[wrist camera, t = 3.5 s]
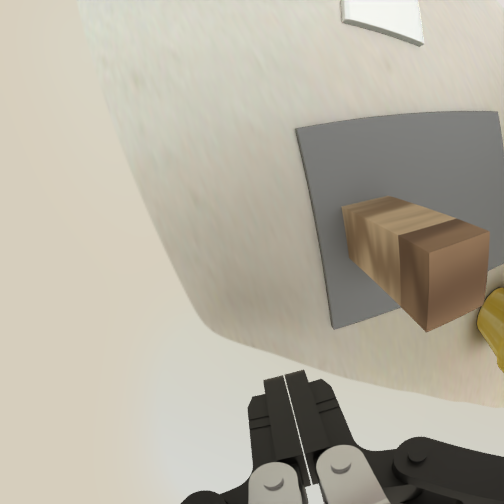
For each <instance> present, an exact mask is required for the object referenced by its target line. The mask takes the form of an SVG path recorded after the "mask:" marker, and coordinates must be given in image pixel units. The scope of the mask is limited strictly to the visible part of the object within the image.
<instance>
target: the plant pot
mask: <svg viewBox="0 0 504 504" xmlns="http://www.w3.org/2000/svg"><path fill="white" fill-rule="evenodd" d="M477 327H478V329H479V331H480V332H481V334H482V335H483V337H484V338H485V340H486V341H487V342H488V344H489V346H490V347H491V349H492V350H493V352H494V353H495V355H496V356H497V364H498V367H499V368H500V369H501V370H502V371H503V372H504V288H498V289H496V290H494V291H493V292H492V293H491V294H490V295H489V296H488V297H487V299H486V300H485V302H484V305H482V307H481V309H480V312H479V315H478V319H477Z"/></svg>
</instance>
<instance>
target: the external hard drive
mask: <svg viewBox="0 0 504 504" xmlns="http://www.w3.org/2000/svg"><path fill="white" fill-rule="evenodd" d="M341 14H342V23H345V24H350V25H354V26H358V27H362V28H365V29H369V30H372V31H376V32H379V33H382V34H386V35H389V36H392V37H395V38H398V39H401V40H403V41H406V42H409V43H412V44H414V45H417V46H422V45H424V36H423V29H422V22H421V15H420V9H419V3H418V0H341Z"/></svg>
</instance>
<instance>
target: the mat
mask: <svg viewBox="0 0 504 504" xmlns="http://www.w3.org/2000/svg"><path fill="white" fill-rule="evenodd" d="M295 130H296V134H297V138H298V143H299V147H300V151H301V156H302V160H303V164H304V169H305V173H306V178H307V183H308V188H309V192H310V197H311V202H312V207H313V212H314V217H315V223H316V228H317V234H318V239H319V245H320V250H321V256H322V262H323V268H324V275H325V281H326V288H327V294H328V301H329V308H330V315H331V323H332V327H333V329H334V330H335V329H338V328H341V327H344V326H348V325H351V324H354V323H357V322H360V321H363V320H366V319H369V318H372V317H375V316H378V315H381V314H384V313H387V312H389V311H392V310H395V309H398V308H400V307H401V306H400V305H399V304H398V303H396V302H395V301H394V300H393V299H392V298H391V297H390V296H389V295H388V294H387V293H386V292H385V291H384V290H383V289H382V288H381V287H380V286H379V285H378V284H377V283H376V282H375V281H374V280H372V279H371V278H370V277H369V276H368V275H367V274H366V273H365V272H364V271H363V270H362V269H361V268H360V267H358V266H357V265H356V264H355V263H354V262H353V261H352V260H351V259H350V258H349V254H348V246H347V239H346V232H345V226H344V219H343V213H342V206H346V205H350V204H354V203H359V202H363V201H367V200H372V199H376V198H381V197H385V196H391V197H395V198H398V199H401V200H404V201H407V202H410V203H413V204H417V205H420V206H423V207H426V208H428V209H431V210H434V211H437V212H440V213H443V214H446V215H448V216H451V217H454V218H457V219H459V220H462V221H465V222H467V223H470V224H473V225H475V226H478V227H480V228H483V229H485V230H488V231H490V240H489V259H488V271H489V270H491V269H493V268H495V267H497V266H499V265H501V264H503V263H504V149H503V141H502V134H501V128H500V122H499V116H498V112H492V111H451V112H426V113H411V114H398V115H387V116H378V117H369V118H360V119H353V120H345V121H338V122H332V123H325V124H319V125H313V126H308V127H302V128H297V129H295Z"/></svg>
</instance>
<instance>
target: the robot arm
mask: <svg viewBox="0 0 504 504" xmlns="http://www.w3.org/2000/svg"><path fill="white" fill-rule="evenodd" d="M285 378H286V382H287V385H288V390H289V394H290V397H291V402H292V405H293V410H294V414H295V417H296V421H297V425H298V429H299V433H300V437H301V441H302V445H303V449H304V453H305V457H306V460H307V464H308V468H309V472H310V476H311V479H312V483H313V484H318V483H319V486H320V489H321V493H322V497H323V502H324V504H504V457H501V456H496V455H491V454H487V453H482V452H478V451H474V450H470V449H465V448H462V447H458V446H454V445H451V444H447V443H444V442H440V441H437V440H433V439H430V438H426V437H414V438H411V439H408V440H406V441H404V442H403V443H402V444H401V445H400V446H399V447H398V448H397V449H393V450H384V451H369V450H366V449H363V448H361V447H360V446H359V445H357V444H356V442H355V441H354V439H353V437H352V435H351V432H350V430H349V428H348V425H347V423H346V420H345V418H344V416H343V413H342V411H341V409H340V407H339V404H338V401H337V399H336V397H335V394H334V392H333V390H332V387H331V386H330V385H329V384H327V383H326V382H325V381H324V380H322V379H320V380H316V381H313V382H308V380H307V377H306V374H305V371H304V370H301V371H297V372H293V373H290V374H286V375H285ZM264 388H265V394H263V395H259V396H254V397H252V400H251V402H250V404H249V406H248V417H249V428H250V439H251V448H252V458H253V470H252V473H251V475H250V477H249V478H248V479H247V481H246V482H245V483H243V484H242V485H240V486H239V487H237V488H234V489H232V490H230V491H227V492H225V493H222V494H217V493H215V492H212V491H199V492H195V493H193V494H191V495H189V496H188V497H187V498H186V499H185V500H184V501H183V502H182V503H181V504H308V498H307V494H306V489H305V487H306V486H310V485H311V484H310V480H309V476H308V472H307V468H306V464H305V460H304V456H303V452H302V448H301V444H300V440H299V435H298V431H297V428H296V423H295V420H294V415H293V412H292V408H291V404H290V400H289V397H288V393H287V389H286V385H285V381H284V378H283V376H279V377H275V378H271V379H267V380H264Z"/></svg>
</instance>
